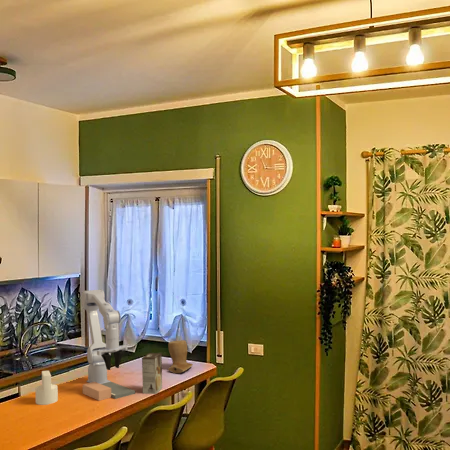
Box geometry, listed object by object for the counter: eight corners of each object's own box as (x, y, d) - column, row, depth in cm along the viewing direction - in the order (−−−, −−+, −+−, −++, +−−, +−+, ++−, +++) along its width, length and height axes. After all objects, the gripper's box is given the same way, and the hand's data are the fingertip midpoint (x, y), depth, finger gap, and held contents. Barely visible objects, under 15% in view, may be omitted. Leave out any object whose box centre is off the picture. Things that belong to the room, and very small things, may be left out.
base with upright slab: (34, 399, 236) (34, 372, 236) (56, 396, 240) (56, 369, 240) (36, 406, 228) (36, 377, 228) (59, 403, 232) (58, 374, 232)
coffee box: (149, 387, 251) (148, 352, 251) (162, 388, 250) (162, 353, 250) (142, 393, 242) (141, 357, 242) (156, 394, 241) (155, 358, 241)
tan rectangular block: (82, 393, 243) (82, 384, 243) (94, 390, 247) (94, 381, 247) (99, 400, 233) (98, 391, 233) (111, 397, 237) (111, 388, 237)
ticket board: (91, 389, 250) (91, 385, 250) (111, 384, 257) (110, 381, 257) (115, 399, 235) (115, 395, 235) (135, 394, 242) (135, 390, 242)
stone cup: (174, 365, 289) (174, 337, 289) (195, 367, 286) (194, 338, 285) (161, 373, 275) (161, 343, 275) (183, 375, 271) (183, 344, 271)
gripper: (102, 342, 238) (103, 373, 238) (130, 337, 248) (131, 367, 248) (94, 339, 243) (94, 370, 243) (122, 334, 253) (122, 364, 253)
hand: (112, 368), depth 246 cm, fingers open, 4 cm apart
